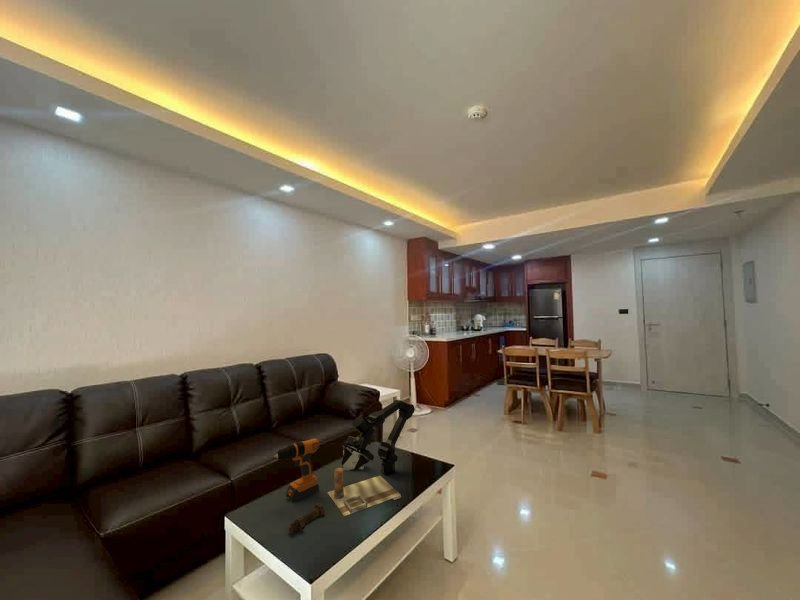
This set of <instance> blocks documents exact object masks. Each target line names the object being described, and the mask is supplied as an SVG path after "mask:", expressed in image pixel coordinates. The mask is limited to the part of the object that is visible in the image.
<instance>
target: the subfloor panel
mask: <svg viewBox="0 0 800 600" xmlns="http://www.w3.org/2000/svg"><path fill="white" fill-rule="evenodd" d="M343 489H344V497H343V498H341V499H336V498H334V490H335V489H334V490H331V491H328V492H327V494H328V495H329V497H330V498H331V500H332V501H333V503H334V504H335V506H336V507H337V508H338V509H339V511H340V512H341V514H342V515H343V517H345V516H348V515H351V514H354V513H357V512H359V511H363V510H366V509H367V508H370V507H373V506H376V505H378V504H382V503H383V502H387V501H390V500H392V499H393V500H394V501H396V500H398V499H401V498H402V495H401V493H400V492H399V491H397V490H396V489H395V488H394V487H393V486H392V485H390V483H389V482H387V480H386V479H384V478H383V477H382V476H381V475H377V476H374V477H371V478H368V479H366V480H365V479H364V480H361V481H359V482H355V483H352V484H349V485H346V486H343Z"/></svg>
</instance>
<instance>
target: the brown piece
mask: <svg viewBox="0 0 800 600" xmlns="http://www.w3.org/2000/svg"><path fill="white" fill-rule="evenodd" d="M333 475H334V498H336V499H341V498H343V497H344V489H343V487H344V470H343V468H342V467H337V468H334V474H333Z"/></svg>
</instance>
